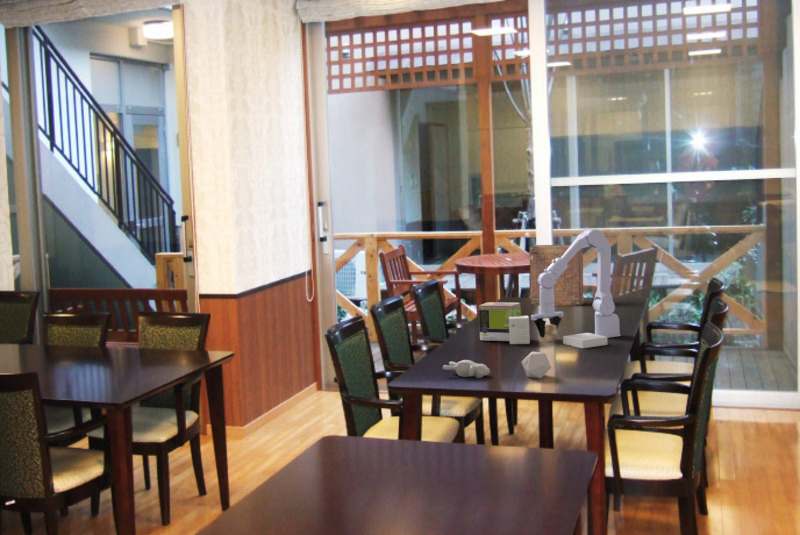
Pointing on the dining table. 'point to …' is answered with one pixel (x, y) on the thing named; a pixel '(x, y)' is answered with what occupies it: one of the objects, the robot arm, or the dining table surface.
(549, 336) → the maple block
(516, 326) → the small box
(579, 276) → the book
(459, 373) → the bunny figurine
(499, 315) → the tea box
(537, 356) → the die
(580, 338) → the white square slab
